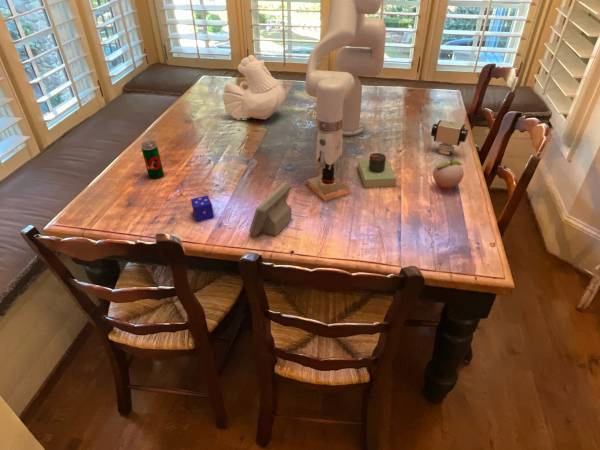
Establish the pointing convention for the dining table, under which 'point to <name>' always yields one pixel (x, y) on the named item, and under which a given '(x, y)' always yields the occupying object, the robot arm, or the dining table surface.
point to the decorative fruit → (448, 174)
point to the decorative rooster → (253, 92)
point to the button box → (328, 188)
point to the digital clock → (272, 212)
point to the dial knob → (377, 162)
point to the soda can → (152, 159)
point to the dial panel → (376, 175)
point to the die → (202, 208)
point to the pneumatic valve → (448, 135)
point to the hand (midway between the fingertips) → (328, 178)
